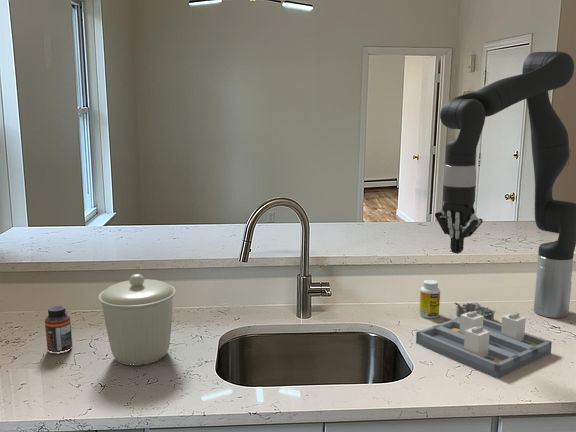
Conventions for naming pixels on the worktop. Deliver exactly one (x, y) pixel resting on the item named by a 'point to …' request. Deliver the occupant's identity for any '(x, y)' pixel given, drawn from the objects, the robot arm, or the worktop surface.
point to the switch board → (501, 350)
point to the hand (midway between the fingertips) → (456, 252)
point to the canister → (138, 319)
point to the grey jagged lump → (477, 307)
